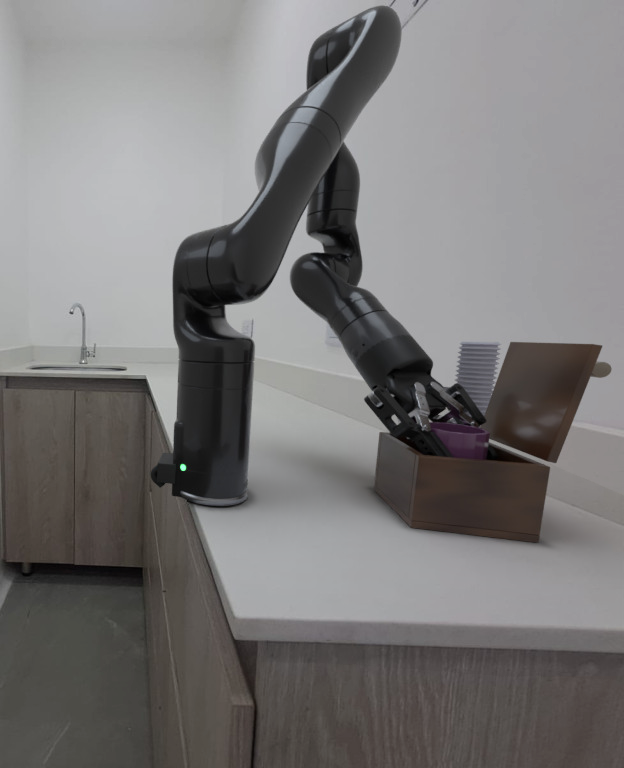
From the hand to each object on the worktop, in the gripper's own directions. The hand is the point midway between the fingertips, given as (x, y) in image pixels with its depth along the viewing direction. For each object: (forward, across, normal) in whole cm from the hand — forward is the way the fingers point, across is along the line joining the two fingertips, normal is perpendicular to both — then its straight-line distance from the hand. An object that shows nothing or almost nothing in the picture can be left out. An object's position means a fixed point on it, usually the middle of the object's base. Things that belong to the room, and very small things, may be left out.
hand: (467, 463), depth 45 cm
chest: (+3, 0, +6) cm, 7 cm away
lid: (-5, +5, -7) cm, 10 cm away
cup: (+3, 0, +5) cm, 6 cm away
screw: (-1, +11, +10) cm, 15 cm away
